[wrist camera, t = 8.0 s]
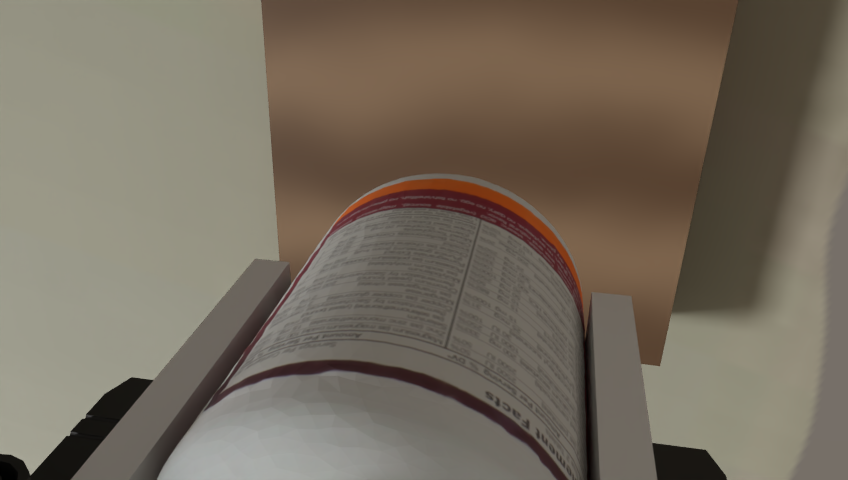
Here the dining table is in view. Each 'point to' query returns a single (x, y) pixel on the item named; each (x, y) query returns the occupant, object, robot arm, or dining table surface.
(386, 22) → the walnut block
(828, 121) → the dining table surface
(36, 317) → the dining table surface
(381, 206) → the pill bottle
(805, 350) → the dining table surface
